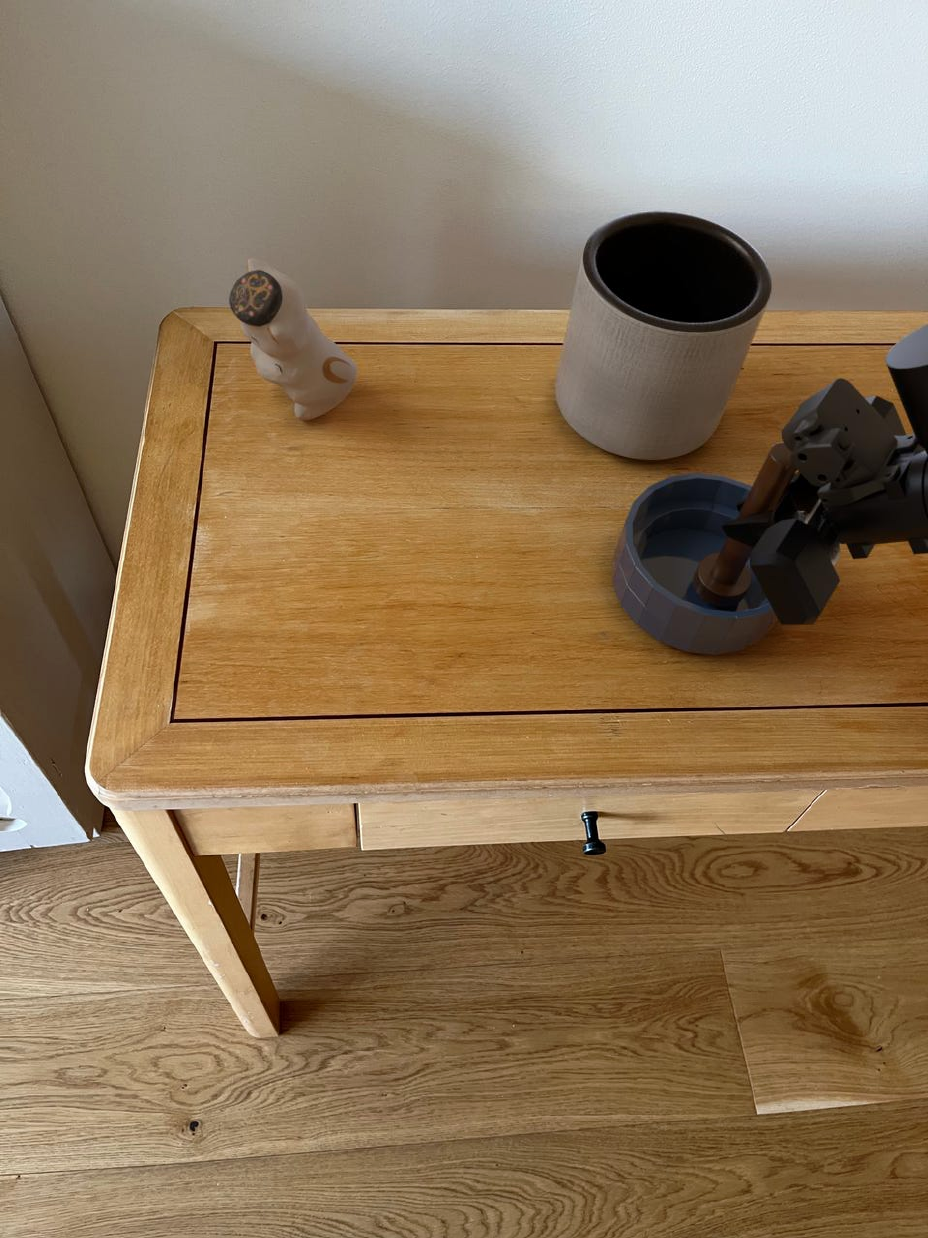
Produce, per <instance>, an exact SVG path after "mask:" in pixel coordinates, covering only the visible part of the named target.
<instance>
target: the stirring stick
mask: <svg viewBox="0 0 928 1238" xmlns="http://www.w3.org/2000/svg"><path fill="white" fill-rule="evenodd" d="M791 454H792V452H791V451H790V450H789V449H788V448H787V447H786V445H785V444H784V442H777V443H775V444H773V445H772V446H771V447H770V449H769V451H768V454H767V455H766V458H765V460H764V461H763V463H762V466H761V468H760V470H759V472H758V474H757V476H756V477H755V479H754V482H753V484H752V485H751V486H752V488H751V490H750V492H749V494H748V496H747V498H746V500H745V502H744V504H743V506H742V508H741V510H740V512H739V514H738V517H737V518H740V517H745V516H749V515H753V514H757V513H762V512H766V511H770V510H774V509H775V508H776V506H777V505H778V503H779V502H780V500H781V498H782V496H783V495H784V493H785V491H786V489H787V487H788V485H789V483H790V482H791V480H792V478H793V476H794V474H795V473H797V471H798V470H797V469H796V468H795V467H794V466H793V465H792V463H791V462H790V456H791ZM753 549H754V548H752V547H750V546H748V545H745V544H743V543H741V542H738V541H736V540H734V539H731V538H729V537H727V539H726V541H725V543H724V545H723V547H722V549H721V551H720V552H717V553H711V554H709V555H707V556H705V557H704V558H703V559H702V560H701V561H700V563H699V565H698V567H697V569H696V571H695V573H694V576H693V585H694V588H695V591H696V592H697V594H698V595H699V596H700V597H701V598H702V599H703V600H704V601H706V602H708V603H710V604H712V605H715V606H719V607H730V606H733V605H736V604H738V603H739V602H740V601H741V600H742V599H743V598H744V596H745V595H746V593H747V591H748V589H749V587H750V585H751V582H752V576H751V572H750V570H749V568H748V566H747V565H746V563H747V561H748V560H749V558H750V553H751V552H752V550H753Z"/></svg>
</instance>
